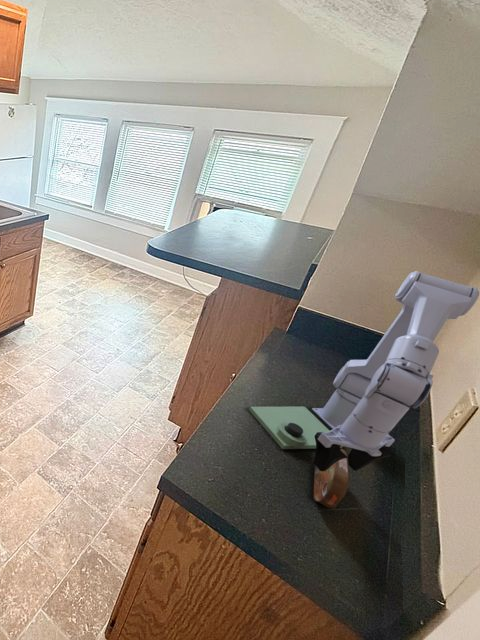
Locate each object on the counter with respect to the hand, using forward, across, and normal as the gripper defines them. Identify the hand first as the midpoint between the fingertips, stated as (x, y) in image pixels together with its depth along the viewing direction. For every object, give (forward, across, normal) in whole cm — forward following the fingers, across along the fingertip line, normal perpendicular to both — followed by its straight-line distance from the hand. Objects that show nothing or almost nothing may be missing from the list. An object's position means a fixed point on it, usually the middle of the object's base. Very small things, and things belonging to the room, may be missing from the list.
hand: (334, 466), depth 79 cm
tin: (+6, 0, -1) cm, 7 cm away
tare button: (+4, +2, +12) cm, 12 cm away
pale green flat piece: (+6, +7, +15) cm, 18 cm away
